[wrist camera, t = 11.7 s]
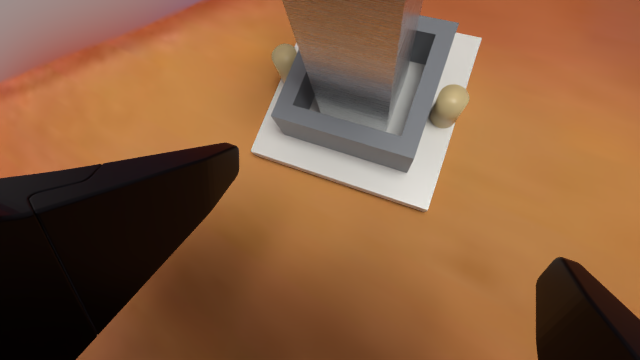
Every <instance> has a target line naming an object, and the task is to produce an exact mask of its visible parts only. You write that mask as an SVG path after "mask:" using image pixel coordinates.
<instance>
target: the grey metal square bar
mask: <svg viewBox="0 0 640 360" xmlns="http://www.w3.org/2000/svg"><path fill="white" fill-rule="evenodd" d="M282 1H283V4H284V7H285V10H286V13H287V16H288V19H289V22H290V25H291V28H292V30H293V33H294V36H295V39H296V42H297V45H298V48H299V51H300V54H301V57H302V60H303V62H304V65H305V68H306V71H307V74H308V77H309V80H310V83H311V86H312V89H313V91H314V94H315V97H316V100H317V103H318V106H319V109H320V112H321V113H322V114H325V115H329V116H332V117H336V118H339V119H343V120H346V121H350V122H353V123H357V124H360V125H363V126H367V127H370V128H374V129H377V130H381V131H384V132H387V129H388V126H389V123H390V120H391V118H392V115H393V112H394V109H395V107H396V104H397V101H398V98H399V95H400V93H401V90H402V87H403V84H404V81H405V79H406V76H407V72H408V67H409V63H410V58H411V54H412V49H413V45H414V40H415V35H416V31H417V26H418V22H419V17H420V12H421V8H422V3H423V0H282Z"/></svg>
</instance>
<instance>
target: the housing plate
mask: <svg viewBox="0 0 640 360" xmlns="http://www.w3.org/2000/svg"><path fill="white" fill-rule="evenodd" d="M458 24H459V23H456V22H451V21H446V20H441V19H436V18H431V17H426V16H421V15H420V17H419V22H418V26H417V31H416V35H415V40H414V45H413V49H412V54H411V58H410V63H409V67H408V72H407V76H406V79H405V81H404V84H403V87H402V90H401V93H400V95H399V98H398V101H397V104H396V107H395V109H394V112H393V115H392V118H391V120H390V123H389V126H388V129H387V132H384V131H381V130H377V129H374V128H370V127H367V126H363V125H360V124H357V123H353V122H350V121H346V120H343V119H339V118H336V117H332V116H329V115H325V114H322V113H321V112H320V109H319V106H318V103H317V100H316V97H315V94H314V91H313V89H312V86H311V83H310V80H309V77H308V74H307V71H306V68H305V65H304V62H303V60H302V57H301V54H300V51H299V48H298V45H297V42H296V45H295V47H293V46H292V45H290V44H281V45H279V46H277V47H276V48H275V49H274V50H273V52H272V61H273V63H274V65H275V67H276V69H277V71H278V73H279V75H280V77H281V80H280V83H279V85H278V87H277V90H276V92H275V94H274V97H273V99H272V102H271V104H270V106H269V109H268V111H267V113H266V116H265V118H264V120H263V123H262V125H261V128H260V130H259V132H258V135H257V137H256V139H255V142H254V144H253V146H252V149H251V152H252V153H253V154H255V155H256V156H259V157H262V158H265V159H268V160H271V161H274V162H277V163H280V164H283V165H286V166H289V167H292V168H294V169H297V170H300V171H303V172H306V173H309V174H312V175H315V176H318V177H321V178H324V179H327V180H330V181H333V182H336V183H339V184H342V185H345V186H348V187H351V188H354V189H357V190H360V191H363V192H366V193H369V194H372V195H375V196H378V197H381V198H384V199H387V200H390V201H393V202H396V203H399V204H402V205H405V206H408V207H411V208H414V209H417V210H420V211H423V212H426V211H427V210H428V208H429V205H430V202H431V198H432V195H433V192H434V189H435V186H436V182H437V179H438V176H439V173H440V170H441V166H442V163H443V160H444V157H445V154H446V150H447V147H448V144H449V141H450V138H451V134H452V131H453V128H454V125H455V122H456V120H457V119H458V117H459V116H460V114H461V113H462V111H463V110H464V108H465V107H466V105H467V104H468V101H469V94H468V92H467V90H466V87H467V83H468V80H469V77H470V74H471V71H472V67H473V64H474V61H475V58H476V55H477V51H478V48H479V45H480V42H481V39H482V38H479V37H474V36H470V35H465V34H460V33H456V30H457V27H458Z"/></svg>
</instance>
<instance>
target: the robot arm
mask: <svg viewBox="0 0 640 360" xmlns="http://www.w3.org/2000/svg"><path fill="white" fill-rule="evenodd" d="M238 172H239V149H238V147H237V146H235V145H232V144H229V143H219V144H213V145H208V146H202V147H196V148H190V149H185V150H179V151H173V152H167V153H161V154H156V155H150V156H144V157H138V158H132V159H127V160H121V161H115V162H109V163H104V164H103V165H101V164H97V165H91V166H86V167H79V168H73V169H67V170H61V171H53V172H46V173H39V174H31V175H23V176H15V177H7V178H0V360H76V359H77V358H78V356H79V355H80V354H81V353H82V352H83V351H84V350H85V349H86V348H87V347H88V346H89V344H90V343H91V342H92V341H93V340H94V339H95V338H96V337H97V335H98V334H99V333H100V332H101V331H102V330H103V329H104V328H105V327H106V326H107V324H108V323H109V322H110V321H111V320H112V319H113V318H114V317H115V316H116V315H117V314H118V312H119V311H120V310H121V309H122V308H123V307H124V306H125V305H126V304H127V303H128V302H129V300H130V299H131V298H132V297H133V296H134V295H135V294H136V293H137V292H138V291H139V290H140V288H141V287H142V286H143V285H144V284H145V283H146V282H147V281H148V280H149V279H150V278H151V276H152V275H153V274H154V273H155V272H156V271H157V270H158V269H159V268H160V267H161V266H162V264H163V263H164V262H165V261H166V260H167V259H168V258H169V257H170V256H171V255H172V253H173V252H174V251H175V250H176V249H177V248H178V247H179V246H180V245H181V244H182V243H183V241H184V240H185V239H186V238H187V237H188V236H189V235H190V234H191V233H192V232H193V231H194V229H195V228H196V227H197V226H198V225H199V224H200V223H201V222H202V221H203V220H204V219H205V217H206V216H207V215H208V214H209V213H210V212H211V211H212V209H213V208H214V207H215V205H216V204H217V203H218V201H219V200H220V199H221V197H222V196H223V194H224V193H225V192H226V190H227V189H228V188H229V186H230V185H231V183H232V182H233V181H234V179H235V178H236V176H237V175H238ZM536 345H537V354H538V360H640V319H639V318H637V317H636V316H635V315H634V314H633V313H632V312H631V311H630V310H629V309H628V308H627V307H626V306H625V305H623V304H622V303H621V302H620V301H619V300H618V299H617V298H616V297H615V296H614V295H613V294H612V293H611V292H610V291H608V290H607V289H606V288H605V287H604V286H603V285H602V284H601V283H600V282H599V281H598V280H597V279H596V278H595V277H593V276H592V275H591V274H590V273H589V272H588V271H587V270H586V269H585V268H584V267H583V266H582V265H581V264H579V263H577V262H575V261H572V260H569V259H566V258H563V257H558V258H556V259H555V260H553V262H552V263H551V264H550V265H549V266H548V267H547V269H546V270H545V271H544V272H543V273H542V274H541V275H540V277H539V278H538V280H537V283H536Z"/></svg>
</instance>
